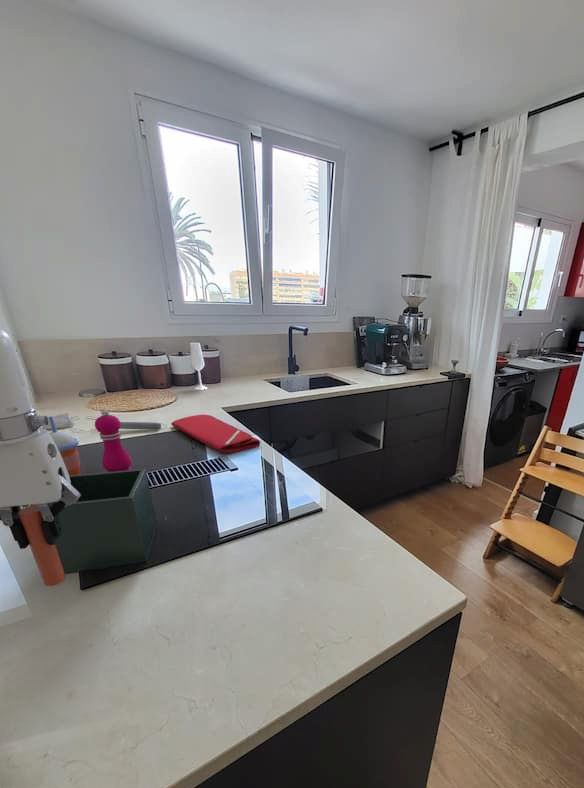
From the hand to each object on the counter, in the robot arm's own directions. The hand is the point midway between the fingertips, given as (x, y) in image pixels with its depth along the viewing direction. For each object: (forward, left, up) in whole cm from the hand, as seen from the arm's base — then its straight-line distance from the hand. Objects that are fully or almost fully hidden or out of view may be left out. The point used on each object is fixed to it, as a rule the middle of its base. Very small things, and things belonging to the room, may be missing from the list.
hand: (41, 540), depth 59 cm
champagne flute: (+11, +169, -16) cm, 170 cm away
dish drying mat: (+20, +88, -16) cm, 91 cm away
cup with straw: (-19, +61, -16) cm, 66 cm away
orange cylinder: (0, 0, -8) cm, 8 cm away
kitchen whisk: (-15, +102, -16) cm, 104 cm away
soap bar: (-38, +112, -16) cm, 119 cm away
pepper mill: (-5, +58, -16) cm, 60 cm away
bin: (+1, +20, -16) cm, 25 cm away
